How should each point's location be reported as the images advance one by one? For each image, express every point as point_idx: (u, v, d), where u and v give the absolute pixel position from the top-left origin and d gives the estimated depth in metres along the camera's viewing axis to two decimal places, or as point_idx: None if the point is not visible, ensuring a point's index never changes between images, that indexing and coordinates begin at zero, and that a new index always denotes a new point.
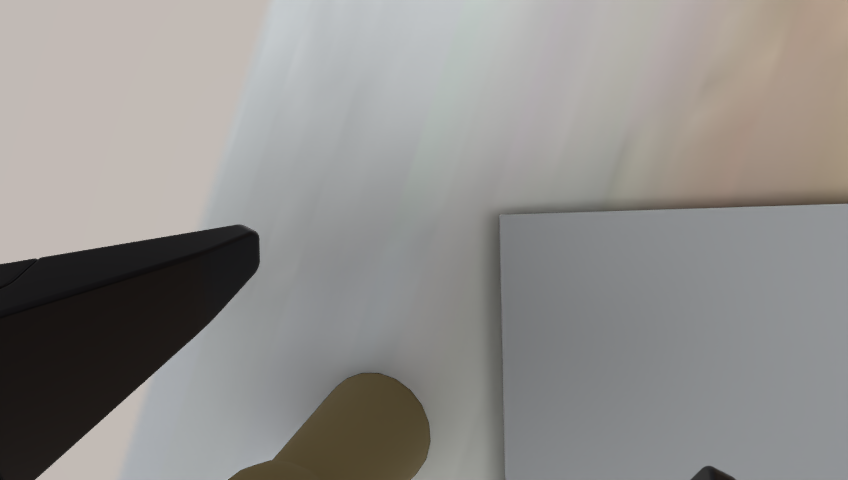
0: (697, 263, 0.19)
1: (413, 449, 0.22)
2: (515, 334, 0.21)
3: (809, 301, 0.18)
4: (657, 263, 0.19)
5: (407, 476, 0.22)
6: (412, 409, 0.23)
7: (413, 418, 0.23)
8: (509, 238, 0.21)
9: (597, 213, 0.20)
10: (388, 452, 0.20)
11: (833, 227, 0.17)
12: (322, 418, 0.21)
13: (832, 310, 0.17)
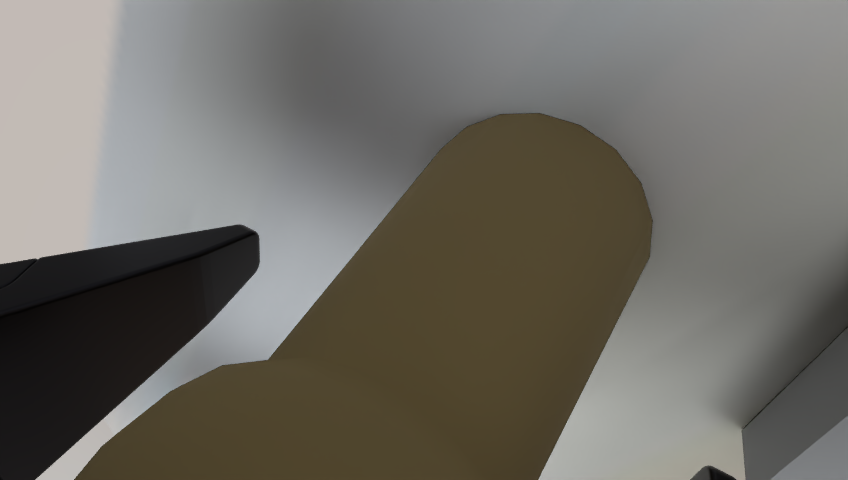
0: None
1: None
2: None
3: None
4: None
5: None
6: (640, 229, 0.10)
7: (639, 250, 0.10)
8: None
9: None
10: (598, 339, 0.08)
11: None
12: (461, 218, 0.08)
13: None
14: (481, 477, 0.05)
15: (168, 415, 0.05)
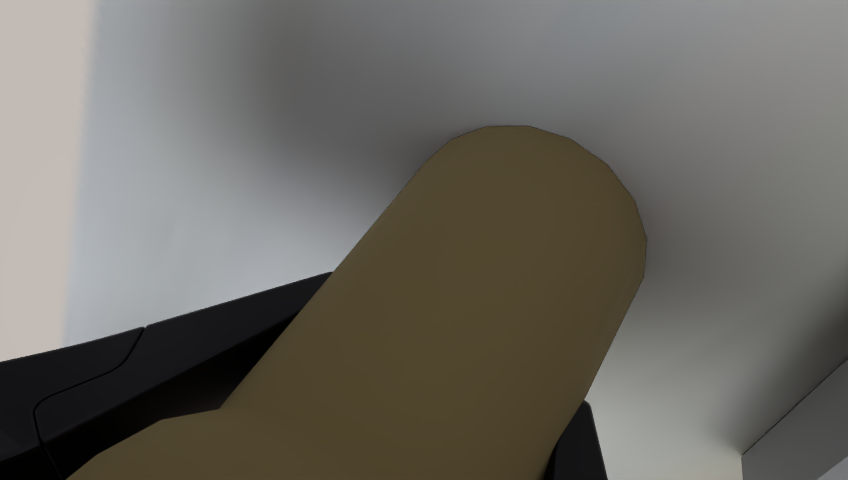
0: None
1: None
2: None
3: None
4: None
5: None
6: (634, 250, 0.10)
7: (632, 272, 0.10)
8: None
9: None
10: (587, 373, 0.08)
11: None
12: (437, 244, 0.07)
13: None
14: None
15: None
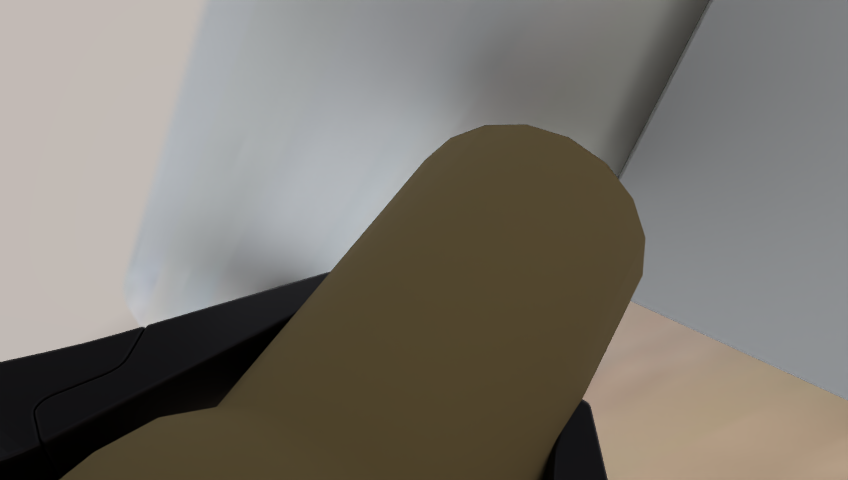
0: None
1: None
2: (702, 64, 0.14)
3: None
4: None
5: None
6: (632, 248, 0.10)
7: (630, 270, 0.10)
8: None
9: None
10: (586, 371, 0.08)
11: None
12: (436, 242, 0.07)
13: None
14: None
15: None
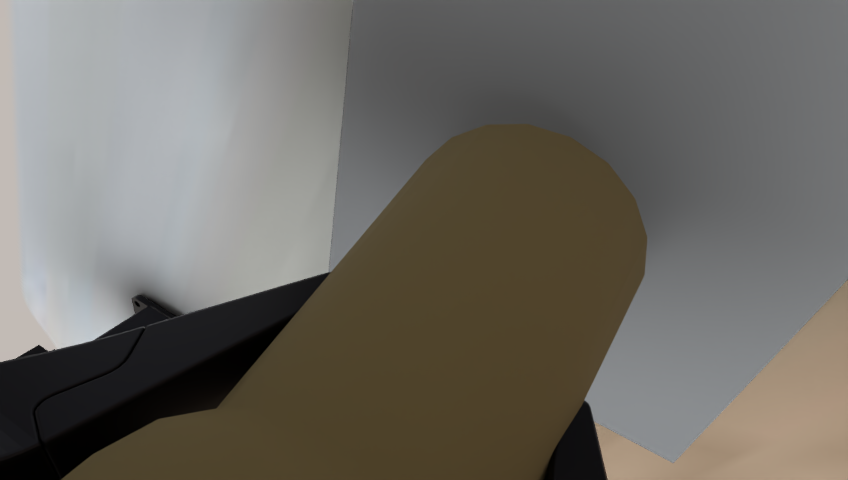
0: (642, 34, 0.11)
1: None
2: (363, 71, 0.14)
3: (781, 149, 0.10)
4: (582, 15, 0.11)
5: None
6: (634, 248, 0.10)
7: (632, 270, 0.10)
8: None
9: None
10: (589, 372, 0.08)
11: None
12: (437, 242, 0.07)
13: (807, 173, 0.10)
14: None
15: None
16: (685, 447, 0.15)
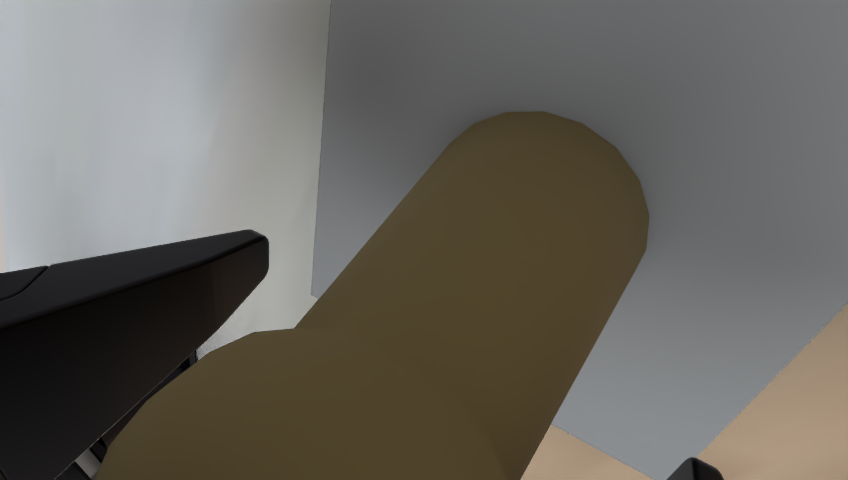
0: (632, 43, 0.10)
1: (617, 301, 0.11)
2: (342, 80, 0.14)
3: (778, 165, 0.10)
4: (568, 23, 0.10)
5: None
6: (638, 223, 0.11)
7: (636, 242, 0.11)
8: None
9: None
10: (596, 323, 0.09)
11: None
12: (470, 206, 0.08)
13: (806, 191, 0.10)
14: (488, 435, 0.06)
15: (211, 370, 0.05)
16: None
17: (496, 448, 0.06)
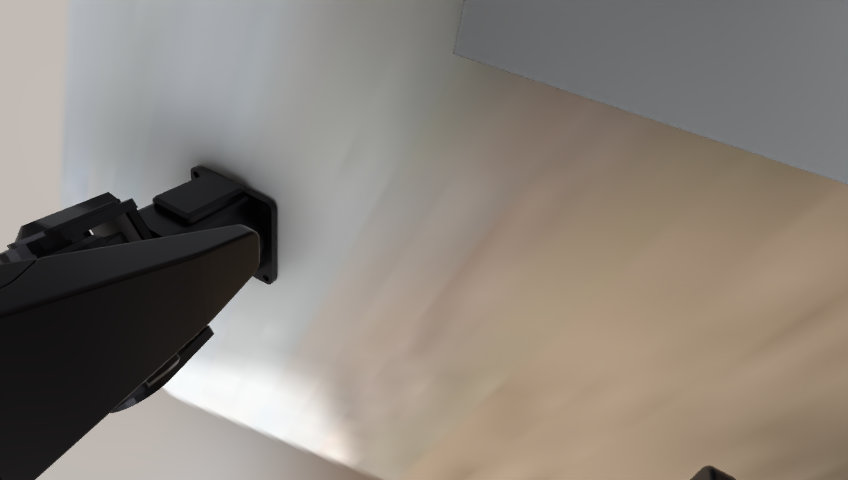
0: None
1: None
2: None
3: None
4: None
5: None
6: None
7: None
8: None
9: None
10: None
11: None
12: None
13: None
14: None
15: None
16: None
17: None
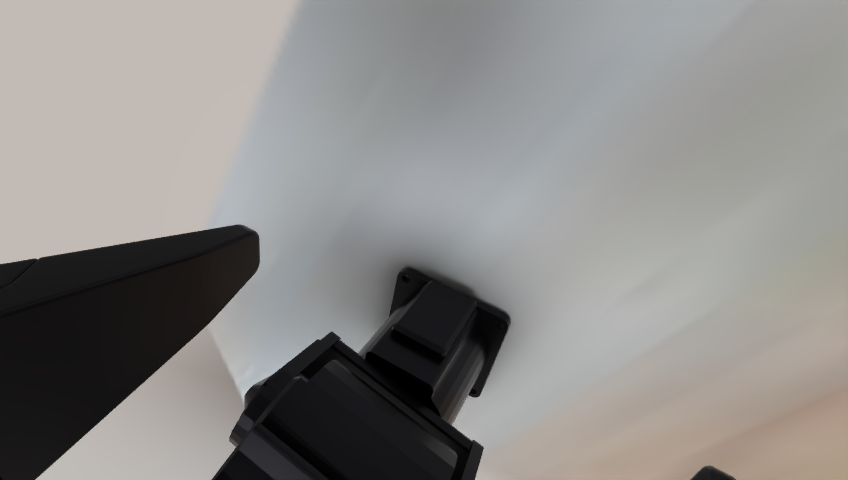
0: None
1: None
2: None
3: None
4: None
5: None
6: None
7: None
8: None
9: None
10: None
11: None
12: None
13: None
14: None
15: None
16: None
17: None
